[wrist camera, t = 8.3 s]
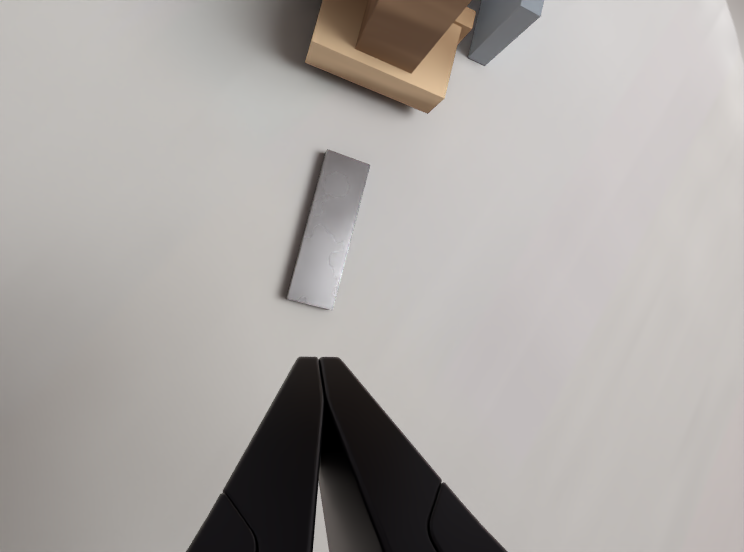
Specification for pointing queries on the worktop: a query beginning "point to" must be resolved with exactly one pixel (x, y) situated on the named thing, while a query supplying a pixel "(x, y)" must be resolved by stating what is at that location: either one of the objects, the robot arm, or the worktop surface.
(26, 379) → the worktop surface
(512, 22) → the grey angular block
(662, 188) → the worktop surface
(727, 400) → the worktop surface
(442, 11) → the tan wooden stepped block
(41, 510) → the worktop surface
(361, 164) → the rail
